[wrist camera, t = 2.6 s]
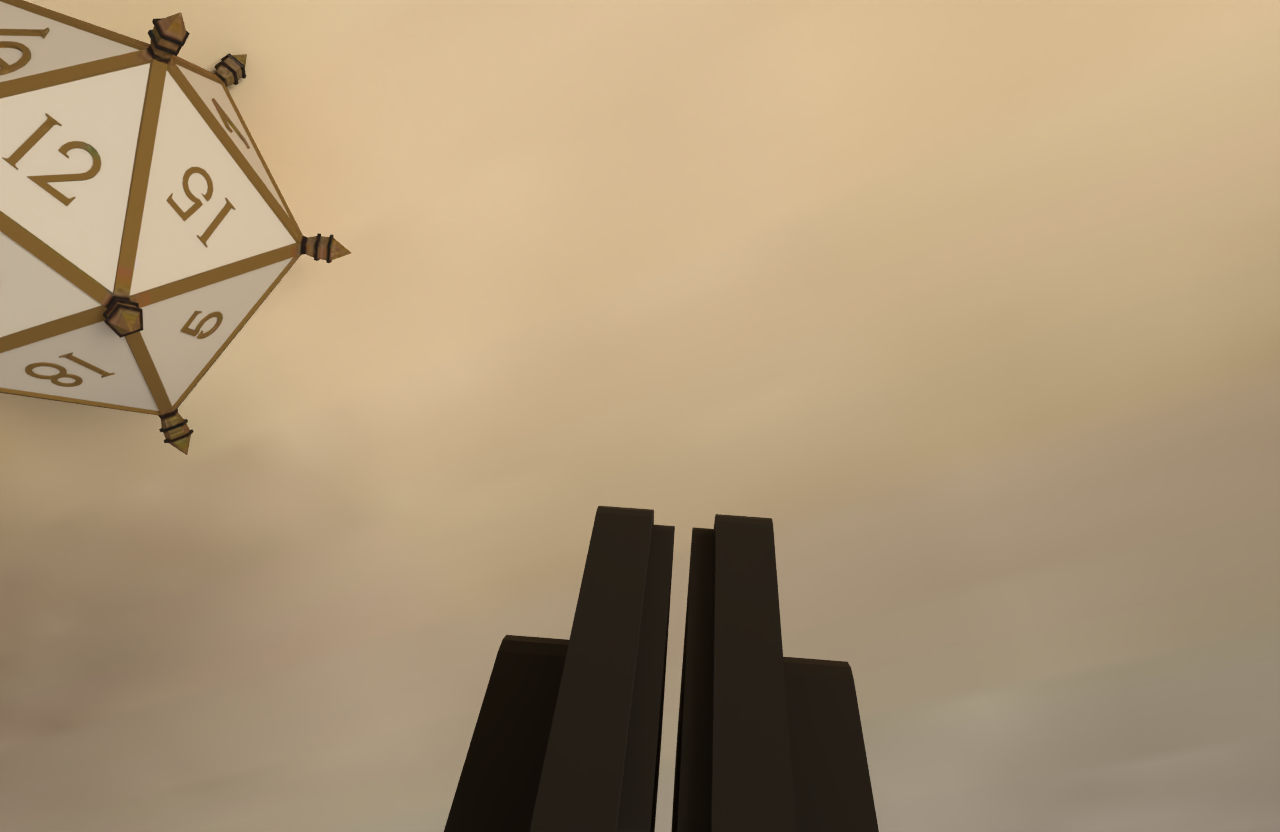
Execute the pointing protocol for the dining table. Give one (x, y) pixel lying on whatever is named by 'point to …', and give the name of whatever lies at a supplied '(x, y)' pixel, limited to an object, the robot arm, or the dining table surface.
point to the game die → (128, 216)
